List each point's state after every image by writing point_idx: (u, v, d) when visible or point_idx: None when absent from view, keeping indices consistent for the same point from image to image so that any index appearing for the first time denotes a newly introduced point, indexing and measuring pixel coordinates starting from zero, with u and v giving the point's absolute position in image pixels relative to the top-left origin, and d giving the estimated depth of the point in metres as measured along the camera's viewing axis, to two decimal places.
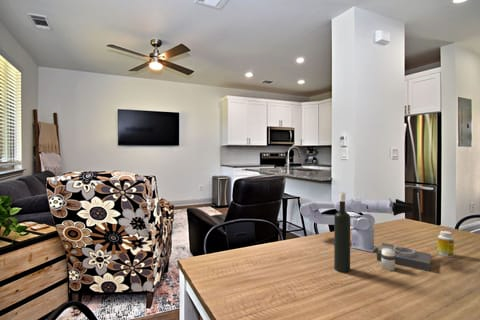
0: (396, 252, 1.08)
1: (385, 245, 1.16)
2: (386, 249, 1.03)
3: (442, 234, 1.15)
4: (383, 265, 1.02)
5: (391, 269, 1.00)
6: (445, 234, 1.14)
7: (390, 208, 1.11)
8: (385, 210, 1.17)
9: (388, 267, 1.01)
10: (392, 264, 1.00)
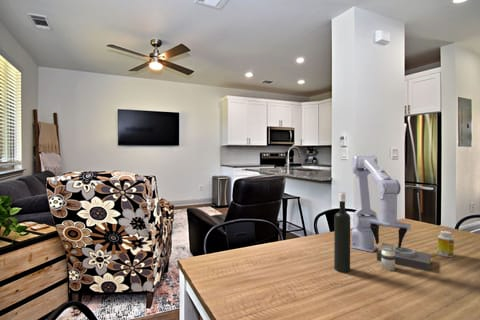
0: (396, 252, 1.08)
1: (385, 245, 1.16)
2: (386, 249, 1.03)
3: (442, 234, 1.15)
4: (383, 265, 1.02)
5: (391, 269, 1.00)
6: (445, 234, 1.14)
7: (367, 222, 1.06)
8: None
9: (388, 267, 1.01)
10: (392, 264, 1.00)
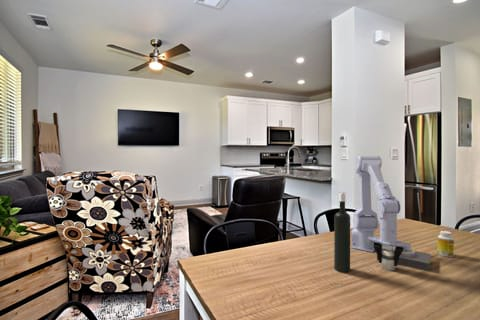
0: None
1: (385, 245, 1.16)
2: (386, 249, 1.03)
3: (442, 234, 1.15)
4: (383, 265, 1.02)
5: (391, 269, 1.00)
6: (445, 234, 1.14)
7: (367, 240, 1.06)
8: None
9: (388, 267, 1.01)
10: (392, 264, 1.00)
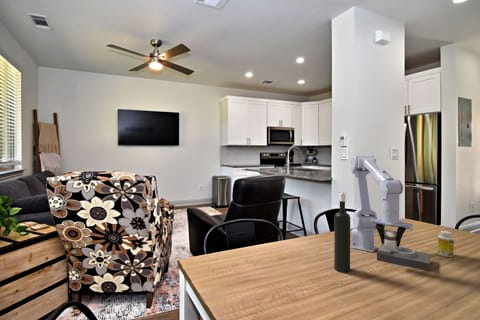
0: (396, 252, 1.08)
1: None
2: (388, 230, 1.04)
3: (442, 234, 1.15)
4: (385, 246, 1.03)
5: (393, 249, 1.01)
6: (445, 234, 1.14)
7: (370, 222, 1.07)
8: None
9: (390, 247, 1.02)
10: (395, 244, 1.01)
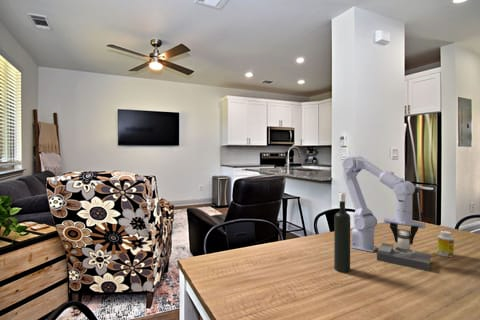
0: (396, 252, 1.08)
1: (385, 245, 1.16)
2: (401, 230, 1.10)
3: (442, 234, 1.15)
4: (399, 244, 1.09)
5: (406, 247, 1.07)
6: (445, 234, 1.14)
7: (384, 221, 1.13)
8: None
9: (403, 246, 1.08)
10: (407, 242, 1.07)
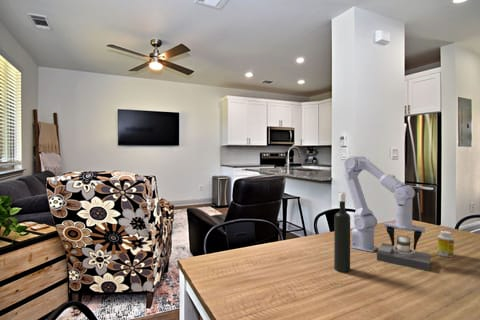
0: (396, 252, 1.08)
1: (385, 245, 1.16)
2: (401, 236, 1.10)
3: (442, 234, 1.15)
4: (398, 250, 1.09)
5: None
6: (445, 234, 1.14)
7: (384, 226, 1.13)
8: None
9: None
10: (407, 249, 1.07)
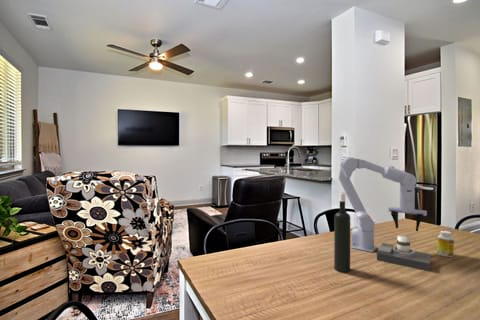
0: (396, 252, 1.08)
1: (385, 245, 1.16)
2: (401, 236, 1.10)
3: (442, 234, 1.15)
4: (398, 250, 1.09)
5: None
6: (445, 234, 1.14)
7: None
8: None
9: None
10: (407, 249, 1.07)
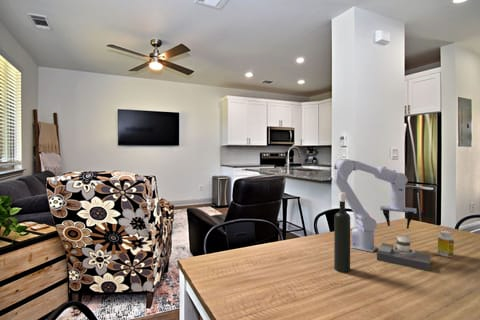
0: (396, 252, 1.08)
1: (385, 245, 1.16)
2: (401, 236, 1.10)
3: (442, 234, 1.15)
4: (398, 250, 1.09)
5: None
6: (445, 234, 1.14)
7: (380, 209, 1.26)
8: None
9: None
10: (407, 249, 1.07)
